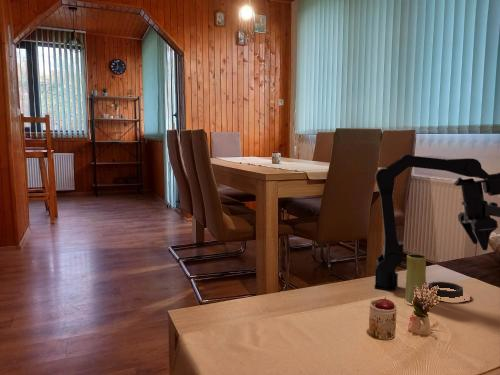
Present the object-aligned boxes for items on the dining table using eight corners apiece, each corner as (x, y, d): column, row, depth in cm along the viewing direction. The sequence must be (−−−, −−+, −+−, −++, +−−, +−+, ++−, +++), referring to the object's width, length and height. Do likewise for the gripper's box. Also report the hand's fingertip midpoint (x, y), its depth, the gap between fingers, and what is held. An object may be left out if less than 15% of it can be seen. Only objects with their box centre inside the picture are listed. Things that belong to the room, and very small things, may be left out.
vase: (400, 300, 125) (401, 254, 123) (418, 298, 126) (419, 252, 125) (411, 307, 119) (412, 259, 117) (431, 306, 120) (432, 257, 119)
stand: (419, 299, 125) (420, 290, 125) (422, 285, 138) (422, 277, 138) (471, 305, 119) (472, 296, 119) (469, 291, 132) (469, 282, 132)
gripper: (514, 197, 118) (521, 250, 118) (490, 191, 136) (497, 238, 136) (471, 202, 120) (479, 255, 121) (454, 196, 138) (461, 242, 139)
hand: (480, 246), depth 129 cm, fingers open, 9 cm apart
